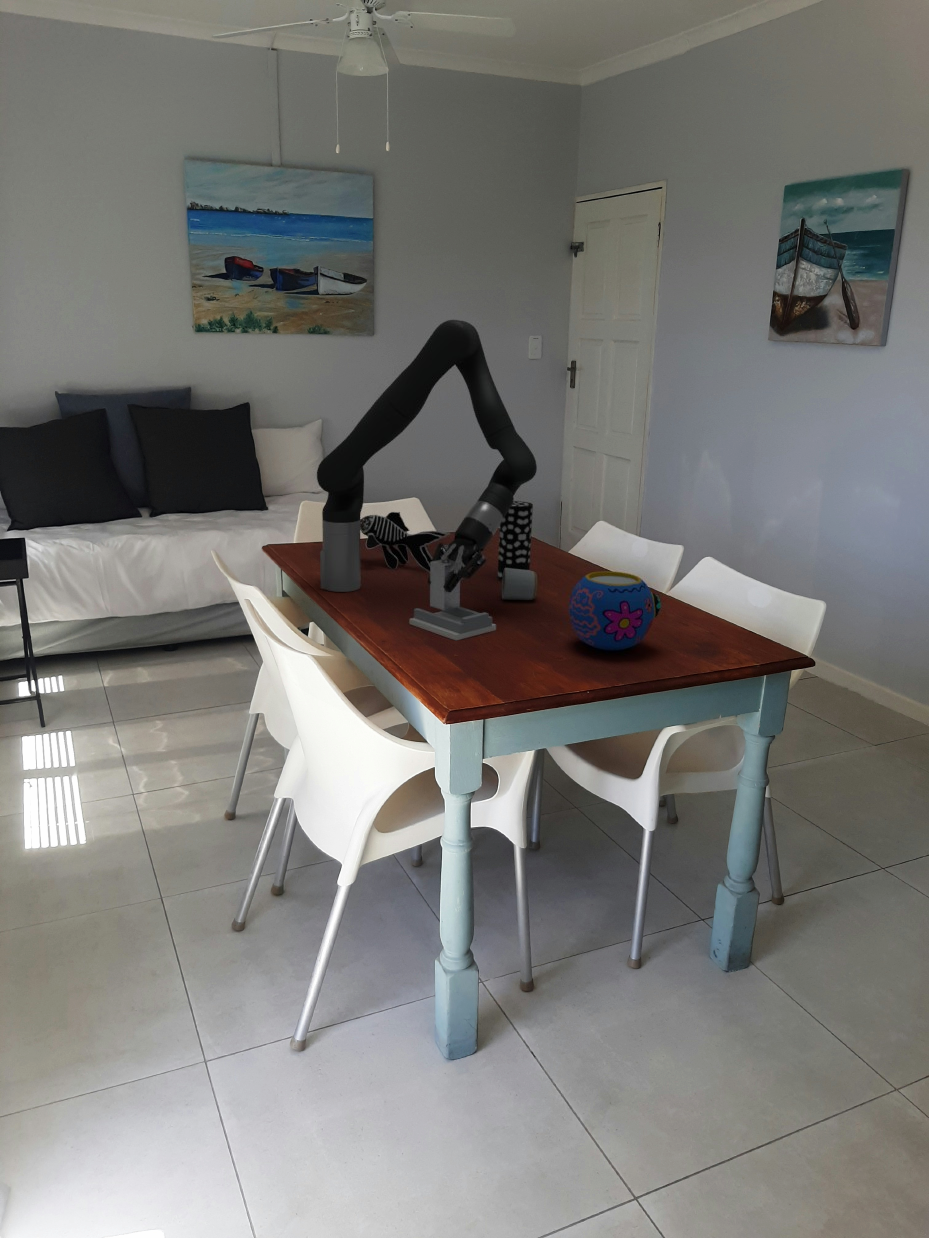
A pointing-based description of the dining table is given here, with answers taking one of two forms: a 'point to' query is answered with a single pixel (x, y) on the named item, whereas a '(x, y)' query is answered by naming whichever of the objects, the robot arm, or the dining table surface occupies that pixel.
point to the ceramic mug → (519, 584)
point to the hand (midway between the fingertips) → (438, 587)
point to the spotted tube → (515, 538)
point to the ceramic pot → (612, 610)
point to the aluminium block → (438, 578)
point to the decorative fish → (398, 539)
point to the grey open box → (453, 622)
